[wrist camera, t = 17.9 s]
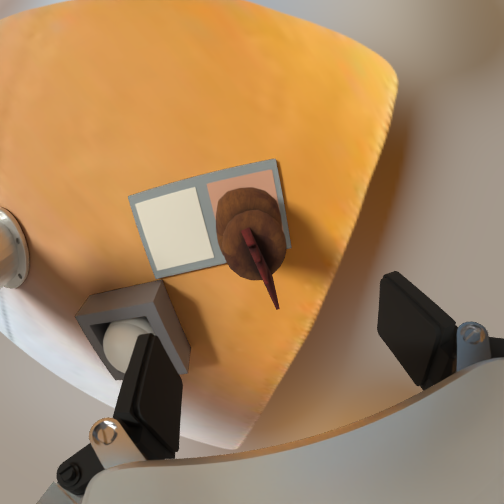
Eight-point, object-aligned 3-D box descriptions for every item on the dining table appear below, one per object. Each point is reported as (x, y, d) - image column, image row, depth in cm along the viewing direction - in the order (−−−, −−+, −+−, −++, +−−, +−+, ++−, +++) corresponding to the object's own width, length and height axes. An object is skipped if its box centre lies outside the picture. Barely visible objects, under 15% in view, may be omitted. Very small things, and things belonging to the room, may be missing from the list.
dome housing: (123, 356, 35) (115, 380, 30) (90, 295, 31) (74, 316, 26) (190, 347, 35) (188, 373, 31) (162, 279, 31) (153, 301, 26)
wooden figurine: (272, 242, 30) (312, 326, 16) (219, 245, 29) (217, 335, 15) (271, 180, 27) (321, 218, 13) (215, 183, 27) (205, 223, 13)
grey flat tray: (156, 276, 31) (155, 279, 30) (129, 195, 27) (127, 196, 26) (290, 245, 31) (291, 248, 30) (274, 158, 27) (275, 159, 26)
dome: (126, 351, 33) (114, 387, 27) (104, 310, 30) (84, 345, 24) (171, 345, 33) (163, 384, 27) (150, 301, 30) (136, 339, 24)
